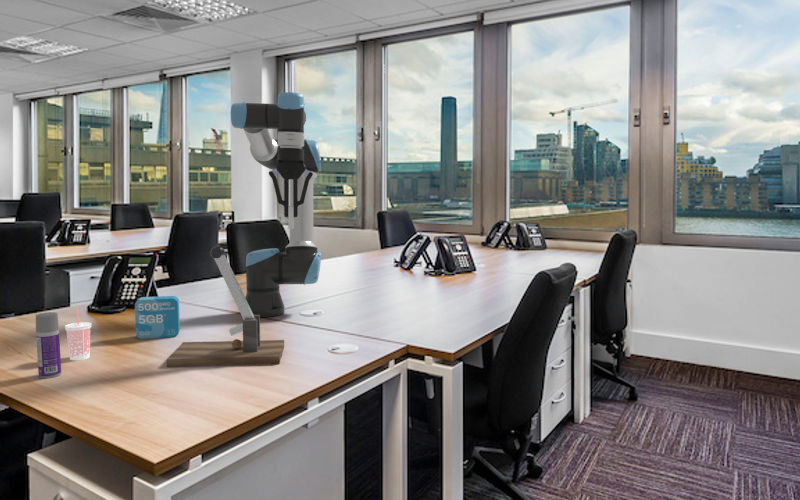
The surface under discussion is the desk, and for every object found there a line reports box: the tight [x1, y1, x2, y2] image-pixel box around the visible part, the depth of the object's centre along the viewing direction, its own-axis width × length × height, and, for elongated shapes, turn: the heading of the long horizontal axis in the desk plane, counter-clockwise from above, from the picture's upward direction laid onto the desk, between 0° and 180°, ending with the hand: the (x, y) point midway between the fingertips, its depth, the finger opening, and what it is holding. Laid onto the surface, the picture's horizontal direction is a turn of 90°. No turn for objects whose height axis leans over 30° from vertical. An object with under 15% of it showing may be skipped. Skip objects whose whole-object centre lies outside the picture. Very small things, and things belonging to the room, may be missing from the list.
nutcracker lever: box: [210, 245, 258, 337], centre depth 151 cm, size 4×8×24 cm, turn 97°
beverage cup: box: [64, 305, 92, 361], centre depth 149 cm, size 6×6×14 cm
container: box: [35, 311, 62, 379], centre depth 135 cm, size 5×5×15 cm
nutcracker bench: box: [166, 315, 285, 368], centre depth 152 cm, size 16×28×10 cm, turn 97°
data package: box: [134, 295, 181, 340], centre depth 172 cm, size 12×4×12 cm, turn 108°
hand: (291, 228), depth 167 cm, fingers closed
